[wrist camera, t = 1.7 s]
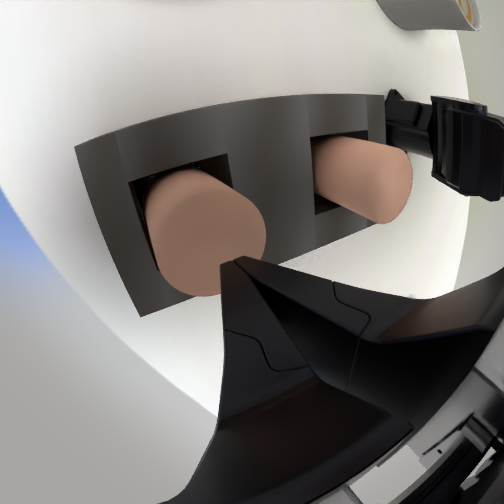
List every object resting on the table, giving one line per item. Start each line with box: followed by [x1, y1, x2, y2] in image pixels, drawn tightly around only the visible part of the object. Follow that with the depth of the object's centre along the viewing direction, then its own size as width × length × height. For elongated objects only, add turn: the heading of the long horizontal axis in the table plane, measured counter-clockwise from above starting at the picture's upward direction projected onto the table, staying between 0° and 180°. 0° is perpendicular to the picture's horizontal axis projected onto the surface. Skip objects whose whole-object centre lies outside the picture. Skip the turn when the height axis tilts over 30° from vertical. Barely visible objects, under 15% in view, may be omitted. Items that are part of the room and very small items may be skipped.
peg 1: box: [143, 164, 266, 296], centre depth 13 cm, size 4×4×6 cm
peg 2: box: [310, 134, 412, 224], centre depth 16 cm, size 4×4×6 cm
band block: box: [74, 94, 386, 317], centre depth 18 cm, size 19×10×7 cm, turn 99°
